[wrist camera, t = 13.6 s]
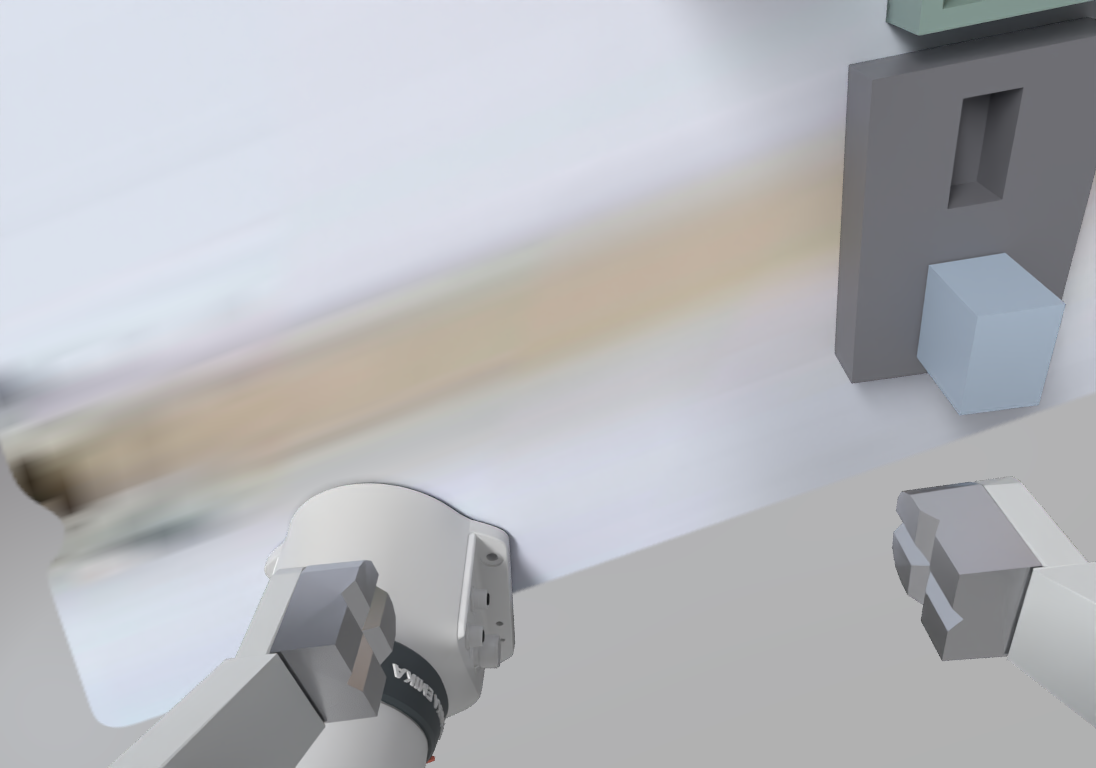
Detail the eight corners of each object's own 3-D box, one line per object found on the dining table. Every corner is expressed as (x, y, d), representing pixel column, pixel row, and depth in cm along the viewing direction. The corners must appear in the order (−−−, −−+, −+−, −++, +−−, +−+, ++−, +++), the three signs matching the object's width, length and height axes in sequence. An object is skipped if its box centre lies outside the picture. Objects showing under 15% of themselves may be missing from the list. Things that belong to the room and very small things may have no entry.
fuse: (963, 321, 39) (1038, 404, 32) (898, 331, 39) (959, 415, 33) (979, 230, 35) (1065, 303, 29) (907, 242, 36) (977, 317, 30)
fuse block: (1017, 326, 39) (1046, 356, 37) (834, 353, 41) (851, 383, 38) (1087, 17, 30) (1132, 28, 28) (848, 65, 31) (872, 79, 29)
